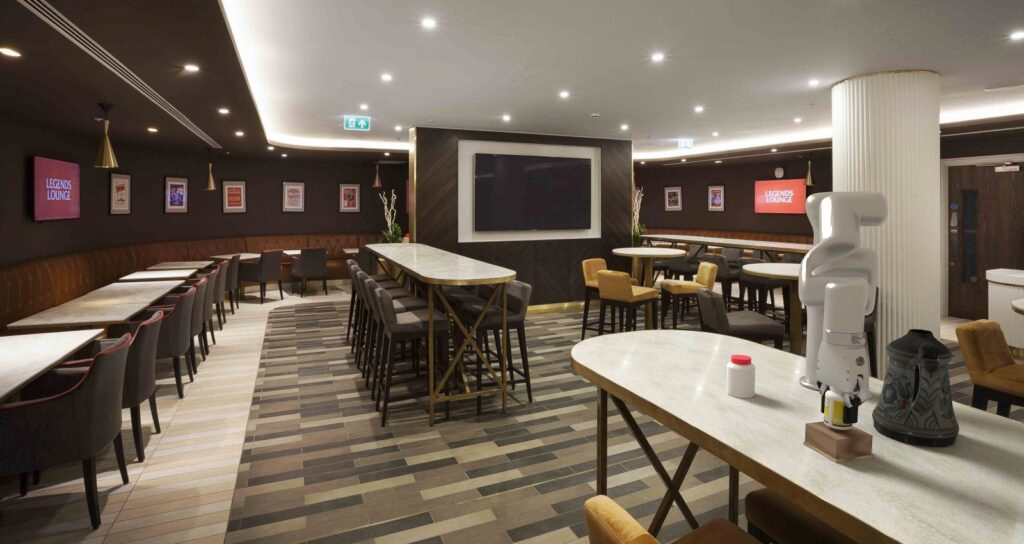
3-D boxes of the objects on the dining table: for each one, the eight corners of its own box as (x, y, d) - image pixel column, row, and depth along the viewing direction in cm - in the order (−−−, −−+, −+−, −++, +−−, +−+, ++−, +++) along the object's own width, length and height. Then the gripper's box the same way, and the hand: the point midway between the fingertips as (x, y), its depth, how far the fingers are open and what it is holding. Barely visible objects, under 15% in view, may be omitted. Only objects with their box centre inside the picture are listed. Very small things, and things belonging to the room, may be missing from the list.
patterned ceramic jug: (919, 418, 135) (926, 322, 133) (990, 453, 116) (999, 341, 113) (855, 420, 135) (861, 323, 132) (916, 456, 116) (924, 343, 113)
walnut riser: (838, 439, 124) (839, 419, 124) (873, 457, 115) (874, 435, 115) (803, 444, 123) (804, 423, 122) (835, 462, 113) (836, 440, 113)
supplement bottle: (858, 428, 117) (860, 384, 116) (840, 432, 115) (843, 388, 114) (835, 419, 122) (837, 377, 121) (818, 423, 120) (820, 381, 119)
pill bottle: (737, 399, 152) (738, 361, 150) (720, 390, 159) (721, 354, 158) (760, 396, 154) (761, 359, 152) (742, 388, 161) (743, 352, 160)
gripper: (892, 346, 108) (887, 431, 111) (827, 328, 125) (823, 402, 127) (860, 349, 107) (856, 435, 109) (799, 330, 124) (796, 405, 126)
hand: (838, 416), depth 118 cm, fingers closed on supplement bottle, 5 cm apart
